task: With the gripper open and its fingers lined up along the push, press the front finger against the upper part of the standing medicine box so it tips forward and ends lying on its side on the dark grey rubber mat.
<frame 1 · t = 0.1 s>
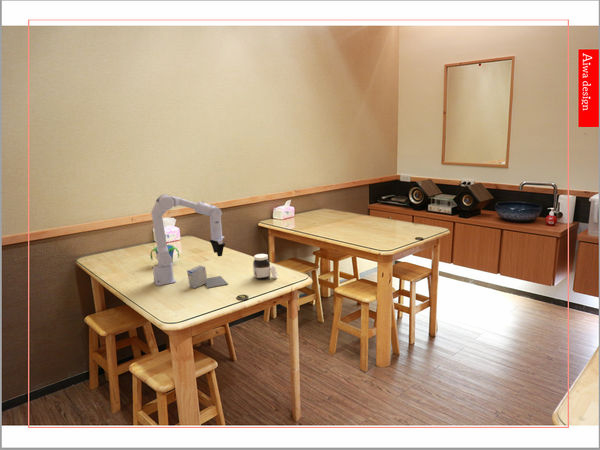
hand: (218, 254, 234), 10 cm above the table, tool pointing down, fingers open, 7 cm apart
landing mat: (214, 282, 222), on the table
medicine box: (198, 285, 218), on the table, touching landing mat
snack cup: (166, 264, 253), on the table
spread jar: (266, 277, 226), on the table
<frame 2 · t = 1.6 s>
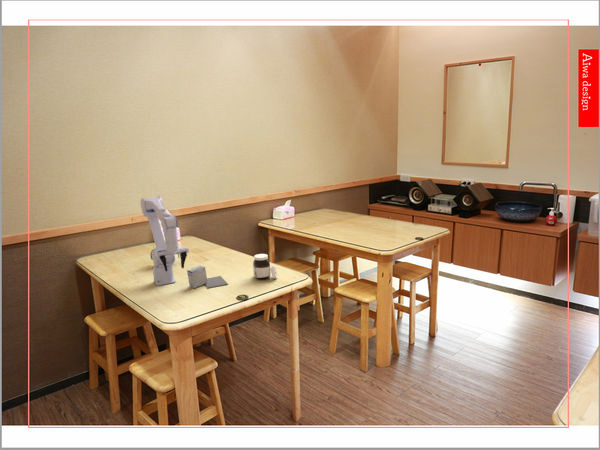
hand: (174, 269, 211), 10 cm above the table, tool pointing down, fingers open, 7 cm apart
nothing on the table moved.
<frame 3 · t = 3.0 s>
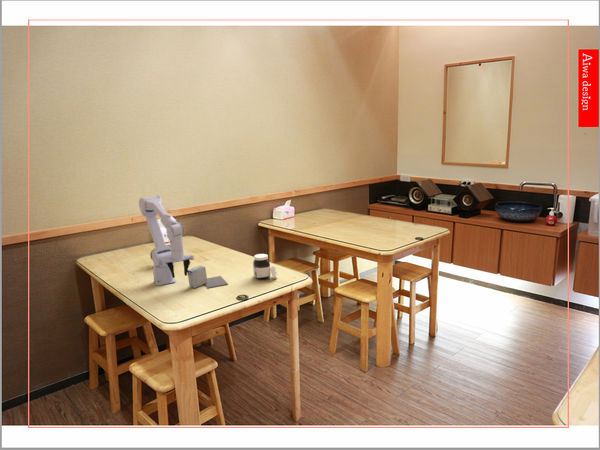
hand: (179, 276, 213), 6 cm above the table, tool pointing down, fingers open, 5 cm apart
medicine box: (198, 285, 218), on the table, touching gripper, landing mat
everything else where it was.
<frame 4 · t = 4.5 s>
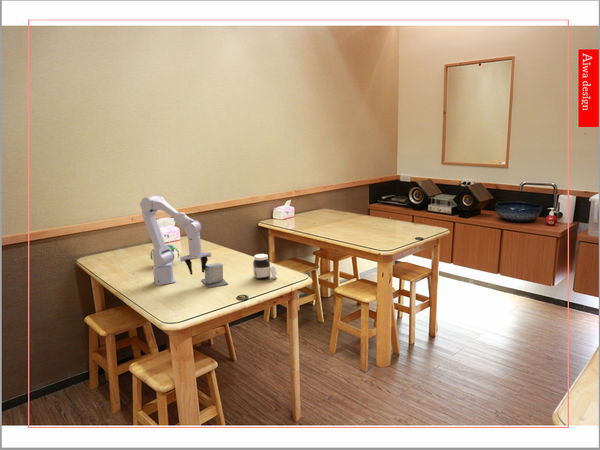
hand: (197, 273, 217), 6 cm above the table, tool pointing down, fingers open, 5 cm apart
medicine box: (214, 281, 221), point 1 cm above the table, touching gripper, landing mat
everything else where it was.
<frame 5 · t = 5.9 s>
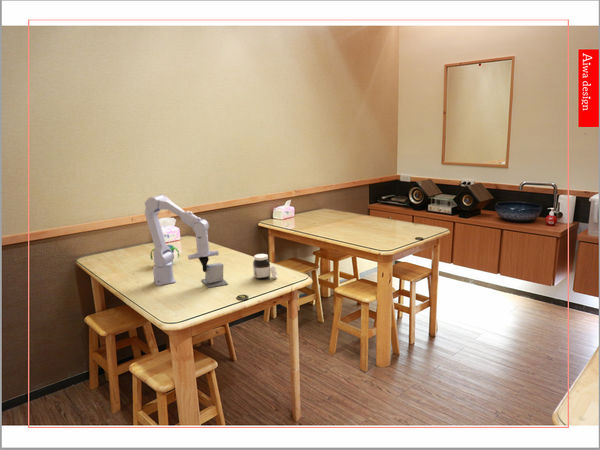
hand: (204, 271, 218), 7 cm above the table, tool pointing down, fingers closed, pressing on medicine box
medicine box: (214, 281, 221), point 1 cm above the table, touching gripper, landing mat
everything else where it was.
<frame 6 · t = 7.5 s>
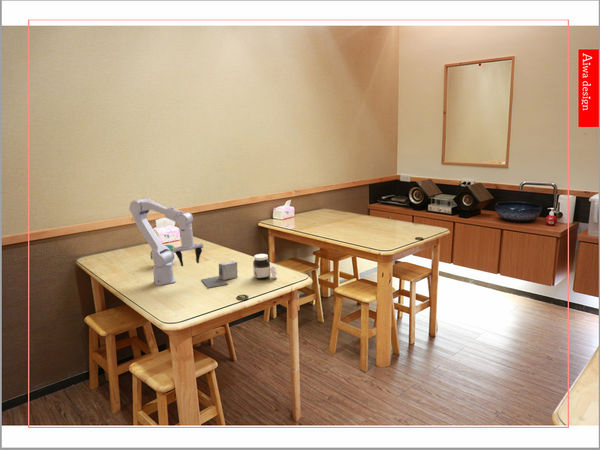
hand: (189, 264, 218), 10 cm above the table, tool pointing down, fingers open, 7 cm apart
medicine box: (220, 271, 223), point 5 cm above the table, touching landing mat
everything else where it was.
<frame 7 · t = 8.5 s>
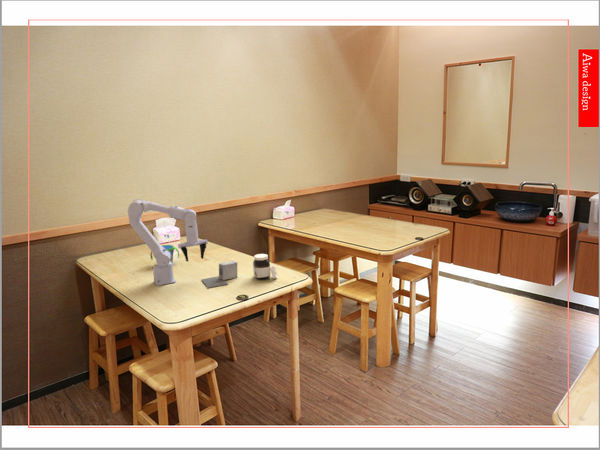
hand: (194, 259, 225), 10 cm above the table, tool pointing down, fingers open, 7 cm apart
nothing on the table moved.
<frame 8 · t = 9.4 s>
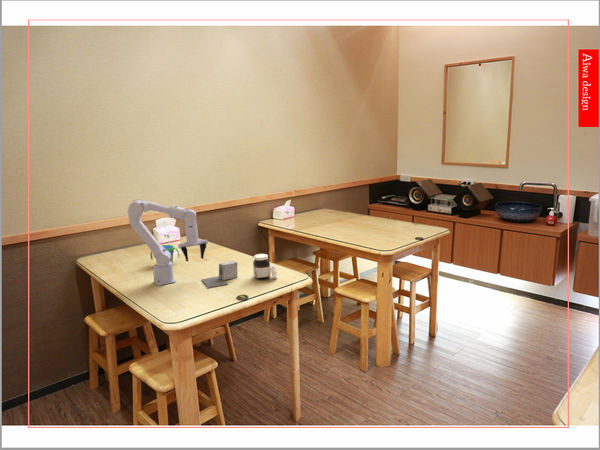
hand: (194, 259, 225), 10 cm above the table, tool pointing down, fingers open, 7 cm apart
nothing on the table moved.
at the end: medicine box tilted 95°; medicine box inside the target area (5.9 cm from its centre), point 4.6 cm above the table; medicine box touching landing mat, table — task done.
